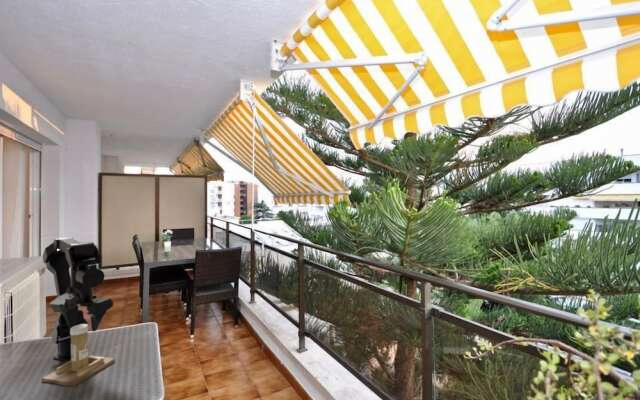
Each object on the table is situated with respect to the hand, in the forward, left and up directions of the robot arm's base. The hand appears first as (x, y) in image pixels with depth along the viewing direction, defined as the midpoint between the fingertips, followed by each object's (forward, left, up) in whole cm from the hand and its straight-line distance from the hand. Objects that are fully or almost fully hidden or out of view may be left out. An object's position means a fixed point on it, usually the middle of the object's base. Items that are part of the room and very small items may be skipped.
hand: (82, 329), depth 100 cm
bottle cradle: (0, -1, -13) cm, 13 cm away
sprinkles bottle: (0, -1, -12) cm, 12 cm away
